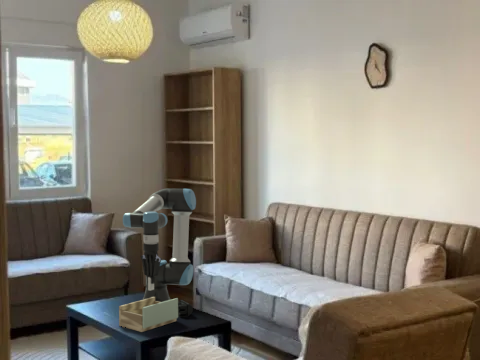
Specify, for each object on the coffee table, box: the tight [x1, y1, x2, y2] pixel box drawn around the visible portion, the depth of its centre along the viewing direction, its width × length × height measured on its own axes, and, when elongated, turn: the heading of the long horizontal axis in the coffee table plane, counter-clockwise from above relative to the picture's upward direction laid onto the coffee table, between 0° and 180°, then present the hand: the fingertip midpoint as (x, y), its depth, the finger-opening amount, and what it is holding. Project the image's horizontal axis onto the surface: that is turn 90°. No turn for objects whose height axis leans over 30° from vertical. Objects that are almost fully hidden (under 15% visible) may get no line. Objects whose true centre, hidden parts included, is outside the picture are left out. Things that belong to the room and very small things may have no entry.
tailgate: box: [142, 297, 179, 328], centre depth 324 cm, size 24×1×10 cm, turn 142°
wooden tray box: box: [118, 297, 178, 333], centre depth 329 cm, size 24×16×10 cm
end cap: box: [178, 299, 194, 318], centre depth 346 cm, size 10×7×7 cm
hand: (151, 289), depth 327 cm, fingers closed
